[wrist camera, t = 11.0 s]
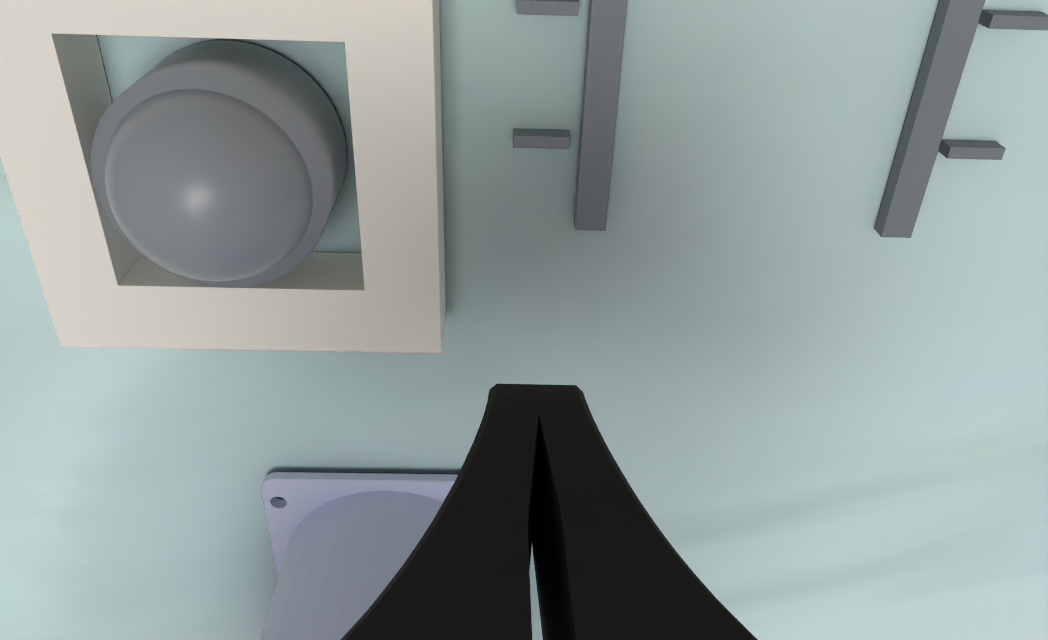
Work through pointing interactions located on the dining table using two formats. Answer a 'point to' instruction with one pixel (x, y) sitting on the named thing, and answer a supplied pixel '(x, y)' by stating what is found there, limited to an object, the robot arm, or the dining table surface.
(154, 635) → the dining table surface
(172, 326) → the housing
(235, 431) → the dining table surface
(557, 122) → the dining table surface
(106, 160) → the dome
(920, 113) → the track
